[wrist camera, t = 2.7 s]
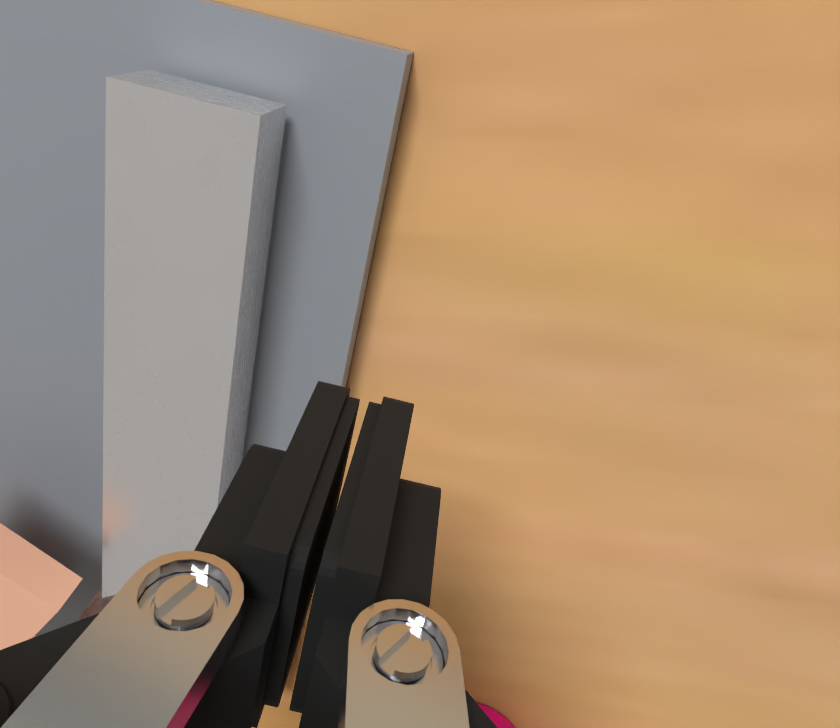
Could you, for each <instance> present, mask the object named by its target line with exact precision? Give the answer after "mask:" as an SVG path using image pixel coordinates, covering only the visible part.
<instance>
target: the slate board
mask: <svg viewBox="0 0 840 728" xmlns="http://www.w3.org/2000/svg"><path fill="white" fill-rule="evenodd" d="M413 53H414V52H411V51H407V50H403V49H399V48H396V47H392V46H388V45H384V44H380V43H376V42H372V41H368V40H364V39H361V38H357V37H353V36H349V35H345V34H341V33H337V32H333V31H329V30H326V29H322V28H318V27H314V26H310V25H306V24H302V23H298V22H294V21H290V20H287V19H283V18H279V17H275V16H271V15H267V14H263V13H259V12H255V11H252V10H248V9H244V8H240V7H236V6H232V5H228V4H224V3H220V2H217V1H213V0H0V523H1V524H2V525H4V526H5V527H7V528H8V529H10V530H11V531H13V532H14V533H16V534H17V535H19V536H20V537H22V538H23V539H25V540H26V541H28V542H29V543H31V544H32V545H34V546H35V547H37V548H38V549H40V550H41V551H43V552H44V553H46V554H47V555H49V556H50V557H52V558H53V559H55V560H56V561H57V562H59V563H60V564H62V565H63V566H65V567H66V568H68V569H69V570H71V571H72V572H74V573H75V574H77V575H78V576H80V577H81V578H83V579H82V580H81V582H80V583H79V584H78V586H77V587H76V588H75V590H74V591H73V592H72V594H71V595H70V596H69V598H68V599H67V600H66V602H65V603H64V604H63V606H62V607H61V608H60V610H59V611H58V612H57V613H56V614H55V615H54V616H53V617H52V618H51V619H50V620H49V621H48V622H47V623H46V624H45V625H44V626H43V628H42V629H41V630H40V631H39V632H38V633H37V634H36V636H39V635H42V634H44V633H47V632H50V631H52V630H55V629H58V628H60V627H63V626H66V625H68V624H71V623H74V622H76V621H79V618H80V616H81V615H82V613H83V611H84V610H85V609H86V607H87V606H88V604H89V603H90V602H91V600H92V599H93V597H94V596H95V594H96V593H97V592H98V590H99V589H100V587H101V586H102V517H103V388H104V258H105V128H106V76H111V75H118V74H124V73H131V72H137V71H144V70H153V71H157V72H161V73H165V74H169V75H173V76H177V77H181V78H185V79H189V80H192V81H196V82H200V83H204V84H208V85H212V86H216V87H220V88H224V89H228V90H231V91H235V92H239V93H243V94H247V95H251V96H255V97H259V98H263V99H267V100H270V101H274V102H278V103H282V104H286V105H287V110H286V118H285V126H284V134H283V142H282V150H281V158H280V166H279V173H278V181H277V189H276V197H275V205H274V213H273V221H272V229H271V237H270V245H269V252H268V260H267V268H266V276H265V284H264V292H263V300H262V308H261V316H260V323H259V331H258V339H257V347H256V355H255V363H254V371H253V379H252V387H251V394H250V402H249V410H248V418H247V426H246V434H245V442H244V450H243V458H242V461H243V459H244V457H245V456H246V454H247V452H248V450H249V449H250V447H251V446H252V445H253V444H258V445H262V446H266V447H271V448H275V449H279V450H283V451H286V450H287V448H288V446H289V444H290V441H291V439H292V437H293V435H294V433H295V431H296V428H297V426H298V424H299V422H300V420H301V417H302V415H303V413H304V411H305V409H306V406H307V404H308V402H309V400H310V398H311V395H312V393H313V391H314V389H315V387H316V384H317V383H318V381H322V382H326V383H330V384H334V385H338V386H342V387H346V384H347V379H348V374H349V369H350V364H351V359H352V354H353V349H354V345H355V340H356V335H357V330H358V325H359V320H360V315H361V310H362V305H363V300H364V295H365V290H366V285H367V280H368V275H369V270H370V266H371V261H372V256H373V251H374V246H375V241H376V236H377V231H378V226H379V221H380V216H381V211H382V206H383V201H384V196H385V192H386V187H387V182H388V177H389V172H390V167H391V162H392V157H393V152H394V147H395V142H396V137H397V132H398V127H399V122H400V117H401V113H402V108H403V103H404V98H405V93H406V88H407V83H408V78H409V73H410V68H411V63H412V58H413Z"/></svg>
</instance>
